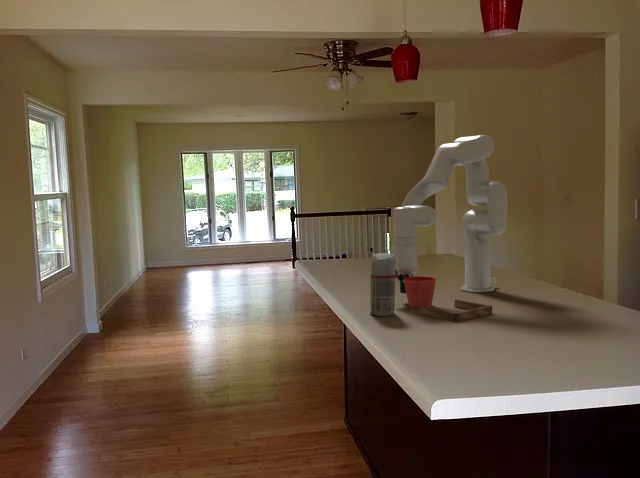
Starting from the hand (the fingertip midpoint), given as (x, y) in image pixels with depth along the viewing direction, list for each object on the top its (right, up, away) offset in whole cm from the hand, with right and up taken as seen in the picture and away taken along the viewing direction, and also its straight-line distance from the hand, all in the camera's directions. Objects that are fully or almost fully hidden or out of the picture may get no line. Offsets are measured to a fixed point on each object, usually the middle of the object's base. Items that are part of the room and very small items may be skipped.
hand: (404, 292), depth 206 cm
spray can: (-10, -6, -17) cm, 20 cm away
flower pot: (+4, -4, -6) cm, 8 cm away
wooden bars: (+14, -5, -19) cm, 24 cm away
